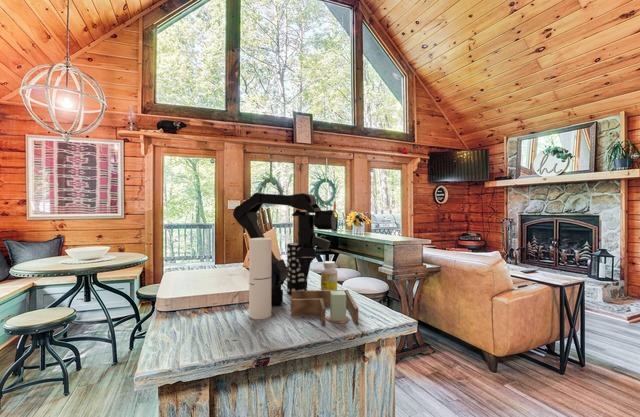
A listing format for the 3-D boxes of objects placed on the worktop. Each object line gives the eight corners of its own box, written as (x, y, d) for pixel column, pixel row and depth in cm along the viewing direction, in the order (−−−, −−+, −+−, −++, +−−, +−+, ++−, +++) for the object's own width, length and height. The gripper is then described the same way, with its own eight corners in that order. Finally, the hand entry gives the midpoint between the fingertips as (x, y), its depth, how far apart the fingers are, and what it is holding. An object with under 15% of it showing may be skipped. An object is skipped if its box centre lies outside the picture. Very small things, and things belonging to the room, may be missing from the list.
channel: (290, 326, 94) (290, 309, 94) (291, 304, 114) (291, 290, 114) (358, 324, 95) (358, 308, 95) (347, 303, 116) (347, 289, 115)
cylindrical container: (266, 319, 99) (266, 240, 98) (245, 318, 100) (245, 239, 100) (274, 312, 106) (274, 238, 105) (254, 310, 107) (254, 237, 107)
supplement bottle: (318, 292, 130) (318, 261, 130) (332, 290, 133) (333, 260, 133) (325, 296, 124) (325, 264, 124) (340, 294, 127) (340, 262, 127)
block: (346, 320, 98) (346, 294, 98) (331, 320, 97) (331, 295, 97) (344, 315, 102) (344, 290, 102) (330, 315, 102) (330, 291, 102)
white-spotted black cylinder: (283, 294, 127) (284, 244, 127) (291, 289, 135) (291, 242, 135) (303, 296, 125) (303, 245, 124) (310, 290, 132) (310, 243, 132)
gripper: (331, 231, 102) (331, 279, 102) (326, 227, 121) (326, 267, 121) (297, 231, 101) (296, 279, 101) (297, 227, 120) (297, 268, 120)
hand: (305, 273), depth 111 cm, fingers open, 9 cm apart
